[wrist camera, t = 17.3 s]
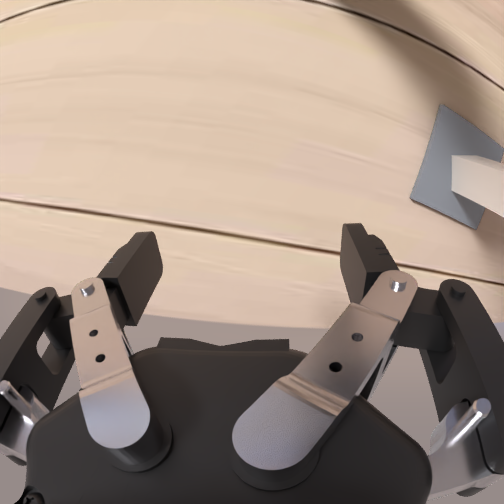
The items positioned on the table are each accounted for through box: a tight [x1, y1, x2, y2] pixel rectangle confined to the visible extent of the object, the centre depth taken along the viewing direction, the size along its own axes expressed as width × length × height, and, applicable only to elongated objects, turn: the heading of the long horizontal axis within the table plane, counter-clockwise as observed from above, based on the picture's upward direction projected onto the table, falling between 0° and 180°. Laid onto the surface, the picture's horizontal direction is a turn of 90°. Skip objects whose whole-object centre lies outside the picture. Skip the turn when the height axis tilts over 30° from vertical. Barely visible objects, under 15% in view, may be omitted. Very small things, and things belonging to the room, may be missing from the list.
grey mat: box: [410, 105, 504, 230], centre depth 33 cm, size 14×14×1 cm
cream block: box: [451, 155, 504, 217], centre depth 28 cm, size 5×5×12 cm
